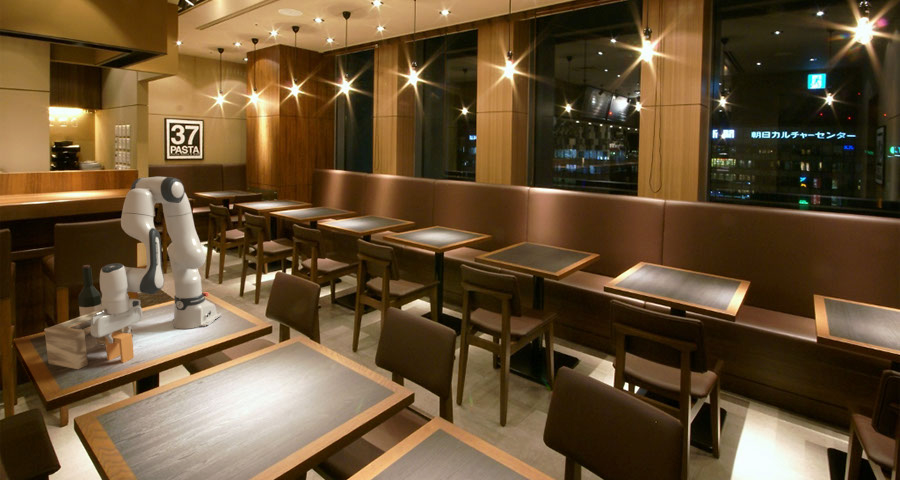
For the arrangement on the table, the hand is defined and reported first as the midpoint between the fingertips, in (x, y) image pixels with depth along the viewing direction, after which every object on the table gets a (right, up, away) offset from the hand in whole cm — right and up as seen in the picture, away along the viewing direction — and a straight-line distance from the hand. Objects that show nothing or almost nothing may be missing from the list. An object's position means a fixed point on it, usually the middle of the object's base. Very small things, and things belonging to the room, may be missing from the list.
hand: (118, 339), depth 198 cm
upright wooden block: (0, -8, +2) cm, 8 cm away
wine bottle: (-29, -2, +27) cm, 39 cm away
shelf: (-14, -7, +5) cm, 16 cm away
